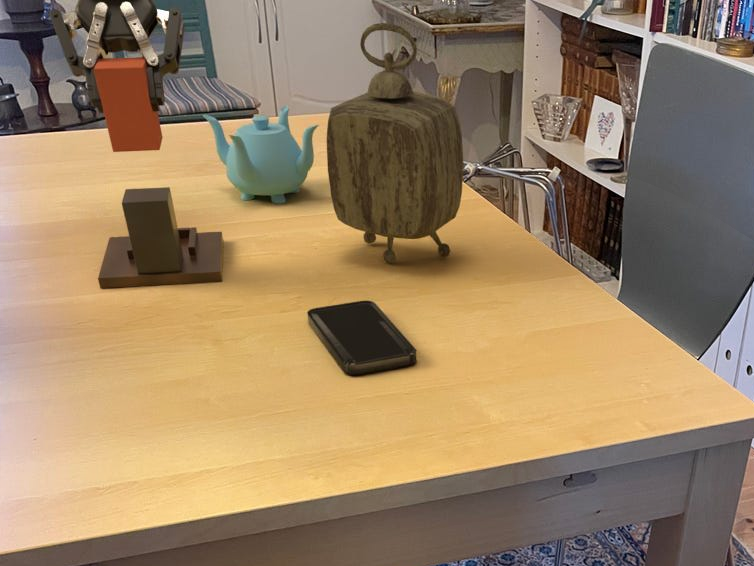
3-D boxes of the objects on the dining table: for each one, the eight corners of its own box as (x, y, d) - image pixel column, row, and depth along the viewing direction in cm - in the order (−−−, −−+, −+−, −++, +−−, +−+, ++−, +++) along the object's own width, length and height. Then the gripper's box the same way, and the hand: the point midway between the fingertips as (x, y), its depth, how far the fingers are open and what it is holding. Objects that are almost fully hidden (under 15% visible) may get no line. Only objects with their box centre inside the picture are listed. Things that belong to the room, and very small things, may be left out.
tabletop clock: (463, 255, 119) (463, 23, 102) (432, 280, 113) (426, 37, 96) (364, 237, 123) (348, 12, 107) (328, 260, 117) (306, 24, 101)
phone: (346, 366, 93) (304, 309, 103) (347, 377, 94) (305, 319, 104) (420, 353, 95) (372, 298, 105) (421, 363, 96) (373, 308, 106)
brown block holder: (100, 288, 110) (78, 206, 104) (111, 246, 120) (92, 169, 114) (222, 281, 112) (208, 200, 106) (223, 240, 122) (210, 164, 116)
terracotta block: (113, 152, 103) (93, 68, 97) (117, 139, 106) (98, 58, 101) (159, 150, 103) (142, 67, 98) (162, 137, 107) (146, 57, 102)
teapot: (240, 214, 130) (227, 133, 123) (212, 187, 139) (199, 110, 132) (327, 200, 135) (320, 122, 128) (295, 175, 143) (287, 101, 136)
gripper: (29, -72, 97) (47, 88, 96) (172, -73, 99) (190, 83, 98) (52, -18, 104) (69, 131, 103) (185, -20, 106) (201, 126, 106)
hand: (128, 107), depth 101 cm, fingers closed on terracotta block, 5 cm apart
